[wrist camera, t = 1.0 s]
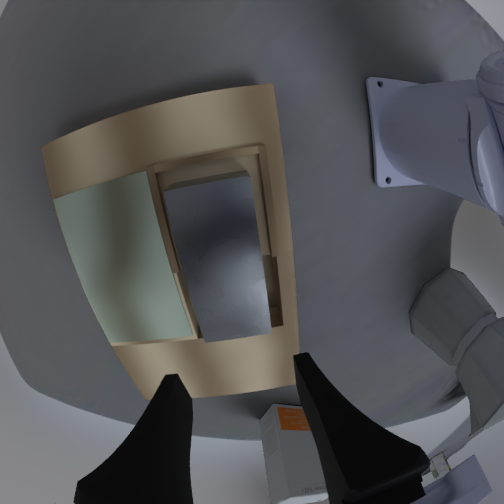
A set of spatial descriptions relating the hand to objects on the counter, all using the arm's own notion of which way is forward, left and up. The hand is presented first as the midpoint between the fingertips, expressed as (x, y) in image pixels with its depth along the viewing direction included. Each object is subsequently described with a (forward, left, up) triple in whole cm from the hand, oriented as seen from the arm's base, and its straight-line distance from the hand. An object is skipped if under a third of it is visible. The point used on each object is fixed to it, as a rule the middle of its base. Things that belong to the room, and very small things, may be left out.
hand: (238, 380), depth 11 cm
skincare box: (-3, +20, -10) cm, 22 cm away
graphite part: (0, -3, -6) cm, 7 cm away
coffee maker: (-21, +7, -10) cm, 24 cm away
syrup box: (-60, +98, -10) cm, 115 cm away
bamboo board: (+3, -1, -9) cm, 10 cm away
